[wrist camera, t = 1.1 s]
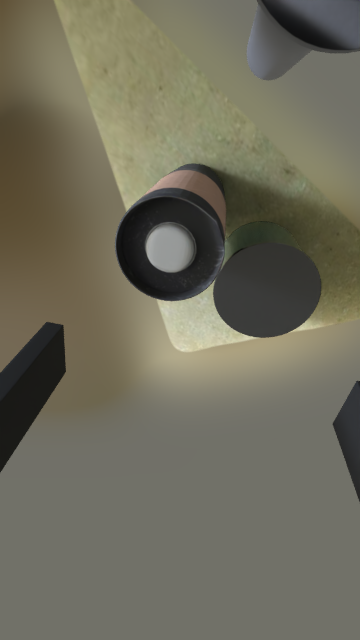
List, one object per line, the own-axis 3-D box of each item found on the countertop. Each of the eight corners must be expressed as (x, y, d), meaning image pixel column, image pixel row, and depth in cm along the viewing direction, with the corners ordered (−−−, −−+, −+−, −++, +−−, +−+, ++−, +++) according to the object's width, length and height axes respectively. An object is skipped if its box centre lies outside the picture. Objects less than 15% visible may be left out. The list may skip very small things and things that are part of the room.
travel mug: (151, 209, 41) (97, 272, 24) (179, 147, 37) (138, 168, 20) (206, 239, 42) (191, 320, 25) (239, 181, 38) (248, 230, 21)
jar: (245, 201, 39) (250, 222, 31) (321, 245, 40) (345, 276, 32) (201, 275, 44) (194, 309, 36) (269, 311, 46) (278, 352, 38)
